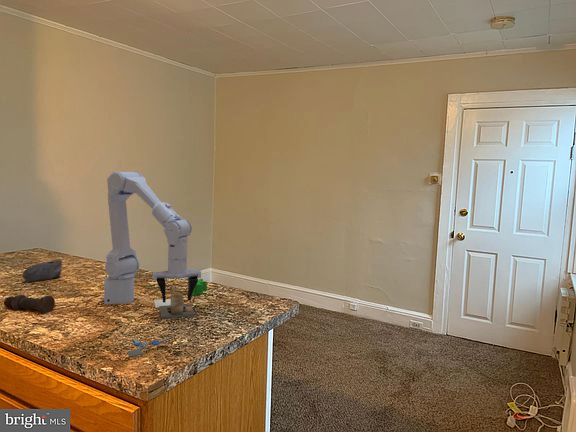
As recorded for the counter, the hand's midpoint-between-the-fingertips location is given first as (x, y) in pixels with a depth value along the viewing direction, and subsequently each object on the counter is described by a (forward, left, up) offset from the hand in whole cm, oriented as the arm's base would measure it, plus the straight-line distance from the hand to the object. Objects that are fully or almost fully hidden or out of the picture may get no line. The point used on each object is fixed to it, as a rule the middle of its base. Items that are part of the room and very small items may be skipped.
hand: (176, 300), depth 132 cm
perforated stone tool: (-45, +53, -5) cm, 70 cm away
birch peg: (0, 0, -4) cm, 5 cm away
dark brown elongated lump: (-43, +15, -5) cm, 46 cm away
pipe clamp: (+10, +20, -5) cm, 23 cm away
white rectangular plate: (-3, +10, -4) cm, 11 cm away
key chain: (-11, -21, -5) cm, 24 cm away
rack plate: (0, 0, -4) cm, 4 cm away
